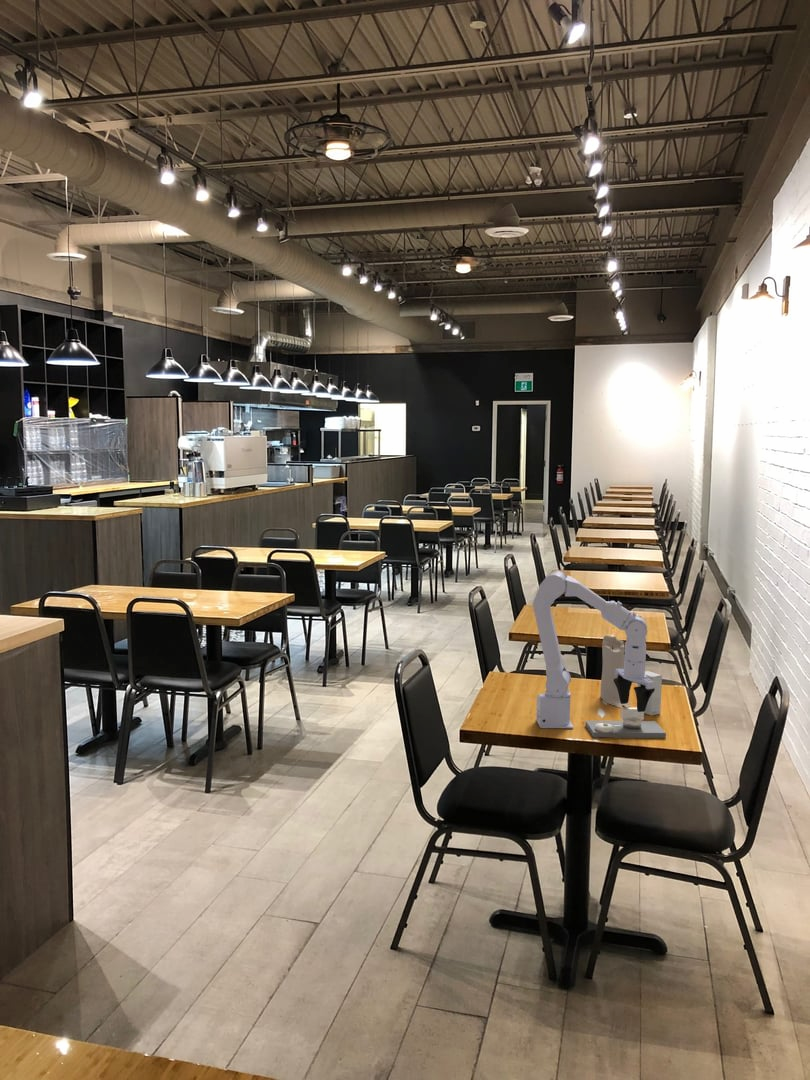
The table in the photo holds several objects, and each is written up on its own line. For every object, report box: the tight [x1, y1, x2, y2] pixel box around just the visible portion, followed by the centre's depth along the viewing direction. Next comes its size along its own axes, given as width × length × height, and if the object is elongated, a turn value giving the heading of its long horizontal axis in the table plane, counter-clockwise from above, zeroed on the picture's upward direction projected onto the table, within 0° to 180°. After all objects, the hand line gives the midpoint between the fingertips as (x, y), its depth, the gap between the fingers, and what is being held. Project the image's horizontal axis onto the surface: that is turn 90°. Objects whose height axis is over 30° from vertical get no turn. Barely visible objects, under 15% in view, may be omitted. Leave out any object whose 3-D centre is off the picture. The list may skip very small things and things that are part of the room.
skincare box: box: [637, 670, 663, 716], centre depth 256 cm, size 6×4×12 cm
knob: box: [620, 705, 645, 729], centre depth 238 cm, size 6×5×6 cm
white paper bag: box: [599, 635, 631, 709], centre depth 266 cm, size 7×14×20 cm, turn 9°
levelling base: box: [584, 720, 667, 739], centre depth 238 cm, size 20×10×3 cm, turn 90°
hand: (632, 707), depth 238 cm, fingers open, 7 cm apart
